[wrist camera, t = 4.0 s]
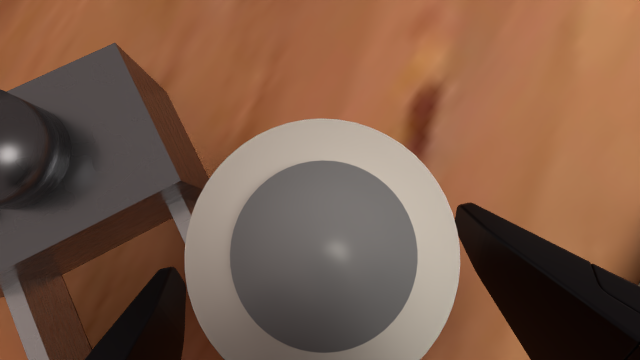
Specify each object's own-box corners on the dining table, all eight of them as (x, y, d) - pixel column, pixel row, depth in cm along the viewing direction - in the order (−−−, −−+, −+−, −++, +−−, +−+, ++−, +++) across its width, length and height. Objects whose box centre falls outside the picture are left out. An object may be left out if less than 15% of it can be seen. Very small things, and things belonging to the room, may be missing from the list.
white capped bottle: (327, 307, 17) (360, 496, 5) (251, 248, 18) (105, 285, 5) (382, 228, 18) (531, 220, 6) (308, 174, 18) (295, 54, 6)
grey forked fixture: (275, 314, 17) (251, 365, 10) (74, 428, 16) (-96, 566, 9) (166, 92, 19) (86, 15, 12) (-20, 180, 18) (-218, 148, 11)
